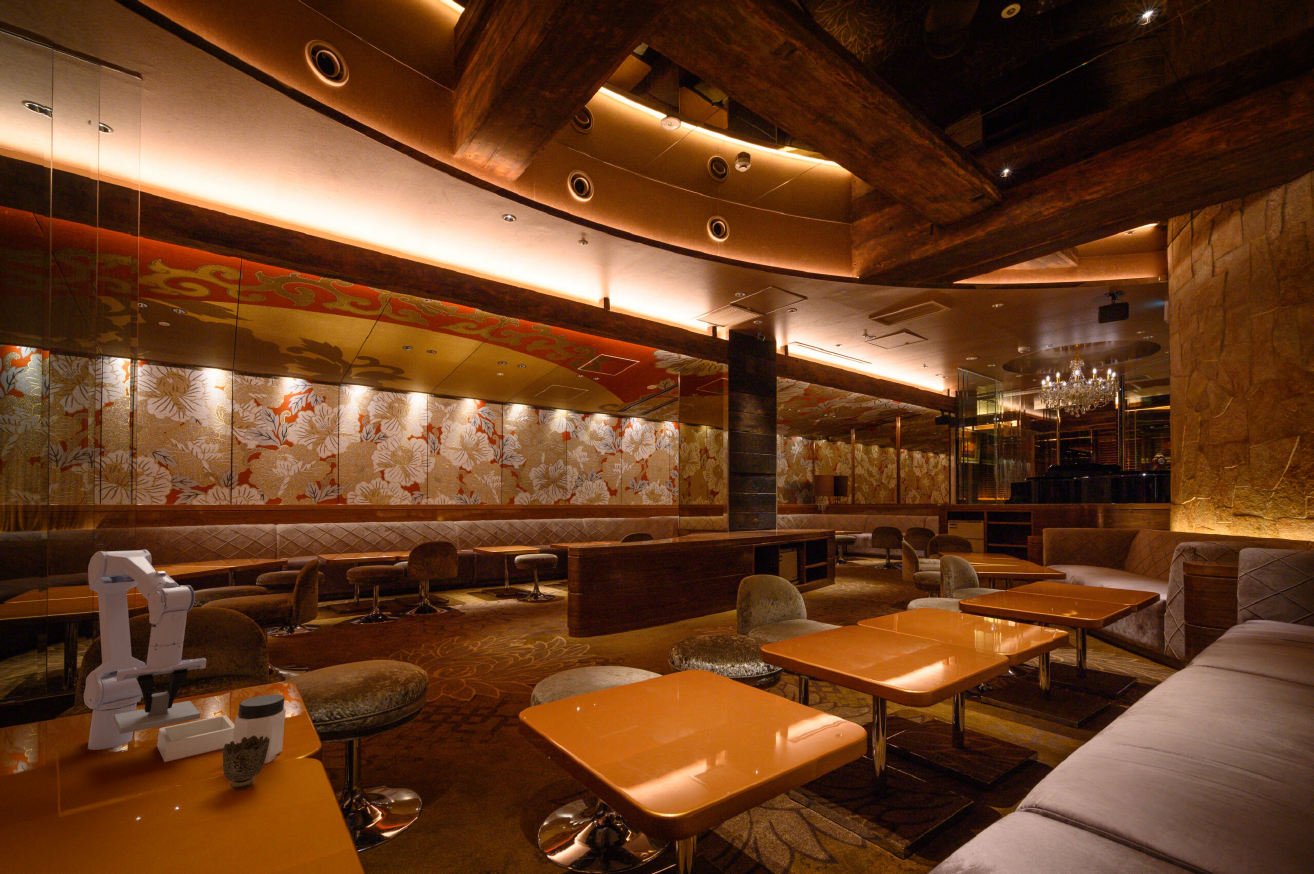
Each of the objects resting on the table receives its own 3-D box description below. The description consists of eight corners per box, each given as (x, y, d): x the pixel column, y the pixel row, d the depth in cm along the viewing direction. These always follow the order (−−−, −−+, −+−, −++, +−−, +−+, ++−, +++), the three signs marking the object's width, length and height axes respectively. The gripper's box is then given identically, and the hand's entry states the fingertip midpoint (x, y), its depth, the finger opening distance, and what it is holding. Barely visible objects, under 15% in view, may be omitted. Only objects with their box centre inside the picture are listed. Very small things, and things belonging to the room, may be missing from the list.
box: (156, 749, 125) (159, 728, 125) (223, 734, 133) (225, 714, 134) (164, 765, 116) (166, 742, 117) (234, 748, 125) (236, 727, 126)
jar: (228, 771, 114) (235, 709, 116) (231, 757, 121) (238, 698, 123) (281, 761, 119) (287, 701, 121) (281, 748, 126) (286, 691, 127)
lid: (113, 719, 120) (117, 694, 120) (189, 705, 129) (191, 682, 130) (119, 734, 111) (123, 707, 112) (200, 718, 121) (202, 693, 121)
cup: (228, 799, 102) (233, 753, 104) (210, 789, 106) (215, 744, 108) (273, 783, 109) (277, 739, 110) (255, 774, 113) (259, 732, 114)
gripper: (123, 652, 114) (113, 722, 112) (211, 640, 125) (204, 705, 123) (119, 646, 119) (110, 714, 117) (205, 636, 130) (198, 698, 128)
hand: (158, 709), depth 120 cm, fingers closed on lid, 3 cm apart
